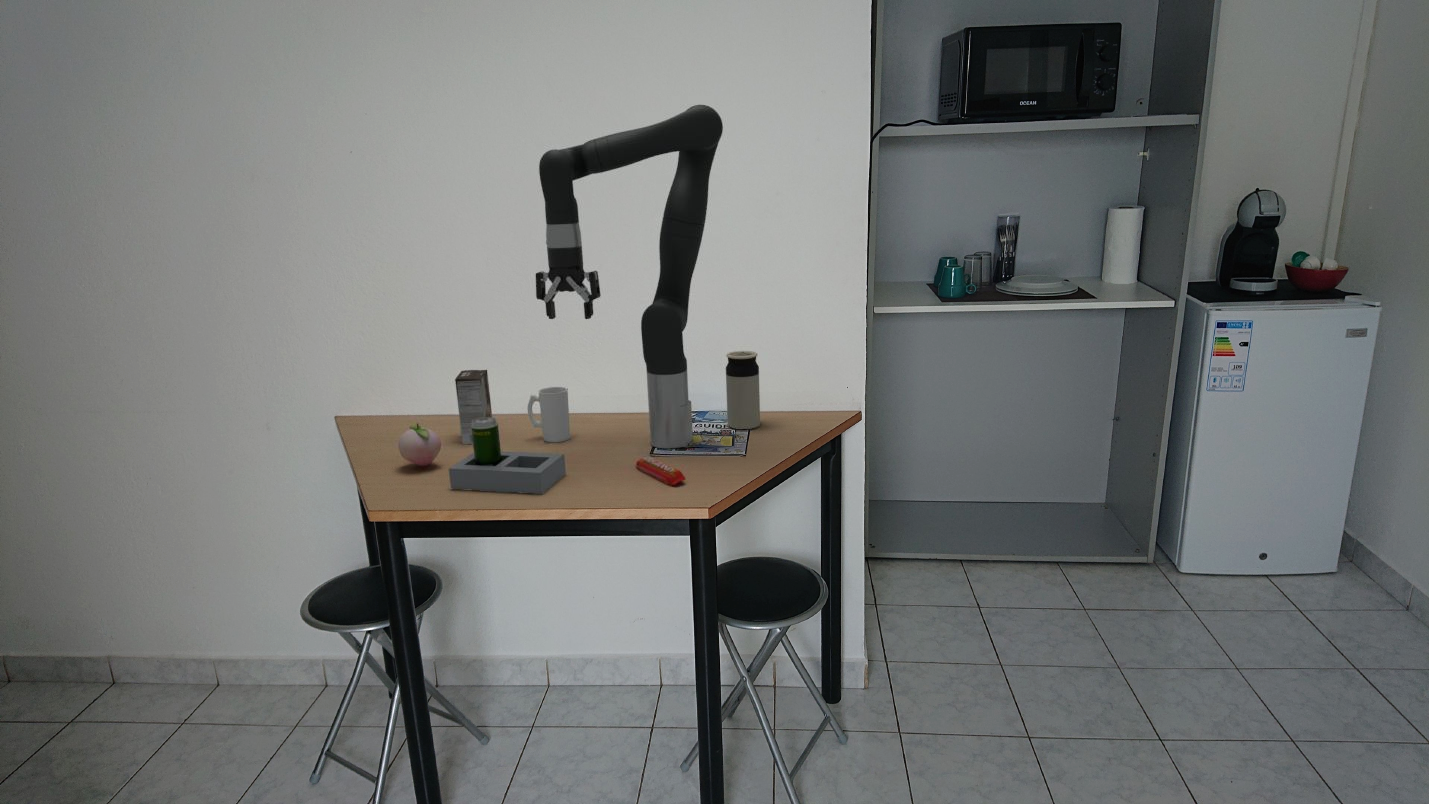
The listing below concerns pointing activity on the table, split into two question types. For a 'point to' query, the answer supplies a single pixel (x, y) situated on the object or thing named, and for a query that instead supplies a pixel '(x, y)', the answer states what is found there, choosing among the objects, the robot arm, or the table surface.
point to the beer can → (486, 441)
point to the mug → (552, 413)
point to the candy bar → (660, 470)
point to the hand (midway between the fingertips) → (570, 318)
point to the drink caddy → (510, 473)
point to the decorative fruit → (419, 445)
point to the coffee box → (472, 400)
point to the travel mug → (742, 390)
